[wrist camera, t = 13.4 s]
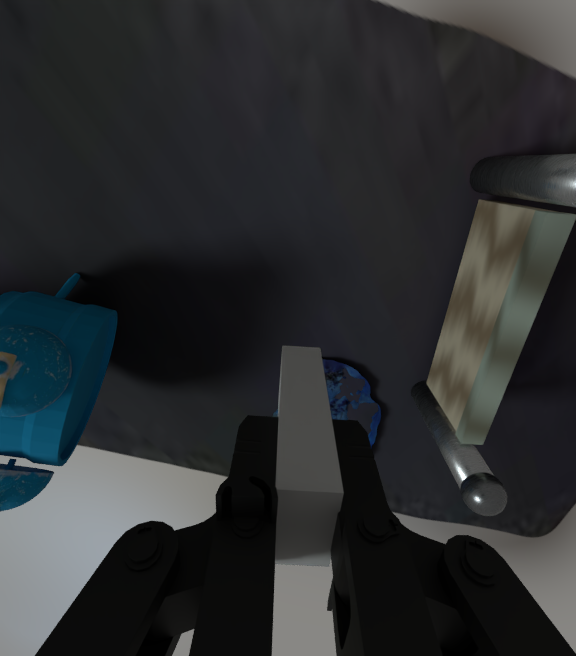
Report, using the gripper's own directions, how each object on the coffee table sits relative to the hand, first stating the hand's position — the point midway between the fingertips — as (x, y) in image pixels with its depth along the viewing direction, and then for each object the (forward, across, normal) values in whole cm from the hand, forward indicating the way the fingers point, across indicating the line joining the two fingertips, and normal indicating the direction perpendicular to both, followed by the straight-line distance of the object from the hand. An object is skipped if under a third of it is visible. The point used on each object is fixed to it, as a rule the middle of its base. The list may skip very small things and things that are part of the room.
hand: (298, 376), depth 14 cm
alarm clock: (+23, -22, -11) cm, 33 cm away
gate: (+21, +18, -4) cm, 28 cm away
